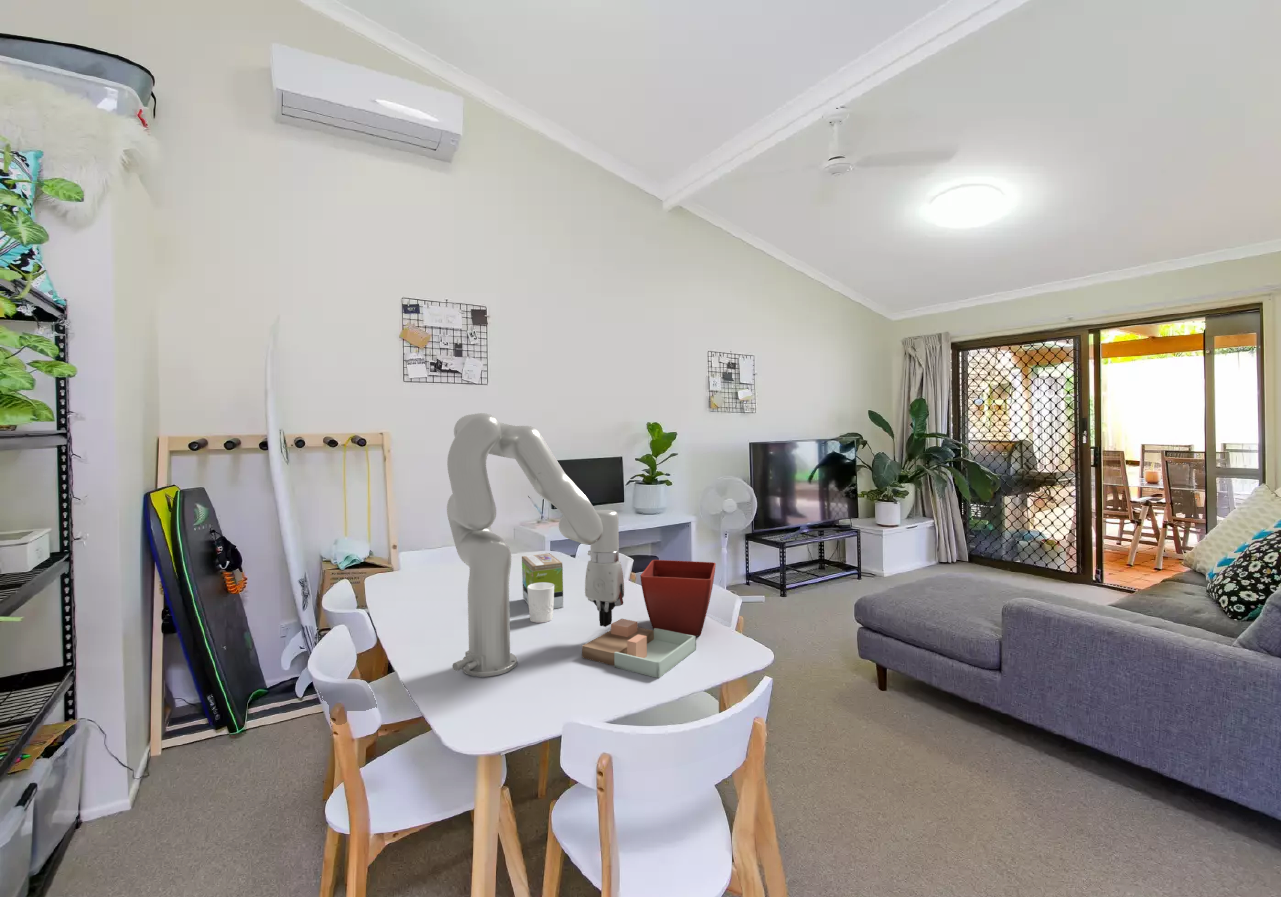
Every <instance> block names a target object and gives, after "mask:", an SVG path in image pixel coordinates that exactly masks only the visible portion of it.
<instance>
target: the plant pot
mask: <svg viewBox="0 0 1281 897" xmlns="http://www.w3.org/2000/svg"><path fill="white" fill-rule="evenodd" d="M716 565H717V564H716V562H713V561H712V562H711V561H710V562H709V561H690V560H688V561H687V560H669V559H668V560H667V559H666V560H663V559H652V560H651V561H650V562H649V564H648V565H647V566H646V568H645V569H644V570H643V571H642V573H641V574H640V583H641V589H642V595H643V600H644V603H645V608H646V612H647V615H648V618H649V621H650V625H651V628H652V630H654V628H658V629H663V630H668V631H673V632H678V633H683V634H688V635H693V636H696V637H698V636H700V635H701V634H702V631H703V629H704V624H705V622H706V616H707V614H708V609H709V606H710V600H711V596H712V591H713V586H714V581H715V573H716Z"/></svg>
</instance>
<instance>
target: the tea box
mask: <svg viewBox="0 0 1281 897" xmlns="http://www.w3.org/2000/svg"><path fill="white" fill-rule="evenodd" d="M521 570H522V572H521V573H522V575H521V576H522V582H521V583H522V598H523V600H524V601H525V602H526V604H527V605H528V606H529V604H528V590H527V586H528V585H530V584H533V583H541V582H546V583H552V584H554V606H553V610H556V609H559V608H560V609H561V608H564V576H563V571H564V570H563V561H561V560H559V559H558V558H557V557H555V556H554V555H552V554H551V553H547V552H546V553H539V554H532V555H522V556H521Z"/></svg>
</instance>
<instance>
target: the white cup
mask: <svg viewBox="0 0 1281 897" xmlns="http://www.w3.org/2000/svg"><path fill="white" fill-rule="evenodd" d="M527 590H528V604H529V605H528V604H527V605H528V612H529V621H530V622H532V623H537V624H538V623H540V624H542V623H547V622H551V621H552V620H553V619H554V618H553V617H554V616H553V615H554V609H553V606H554V584H552V583H546V582H541V583H533V584H530V585H528V586H527Z"/></svg>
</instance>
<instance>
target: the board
mask: <svg viewBox="0 0 1281 897" xmlns="http://www.w3.org/2000/svg"><path fill="white" fill-rule="evenodd" d="M638 634H639V635H644V636H647V644H648V643H649V642H651V641H652V640H654V630H653V629H648V628H643V627H639V626H638V631H637V632H635V633H633V634H632V635H630V636H628V637H625V636H620V635H615V634H611V629H610V630H609V631H607V632H605V633H603V634H601V635H599V636H598V637H596V638H594V639H592V640H590V641H588V642H586V643H585V644H583V645H581V658H582V659H586V660H589V661H593V662H597V663H602V664H605V665H609V666H613V667H615V662H614V652H619V653H624V654H627V641H628V640H629V639H631V638H633V637H634V636H636V635H638Z"/></svg>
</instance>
